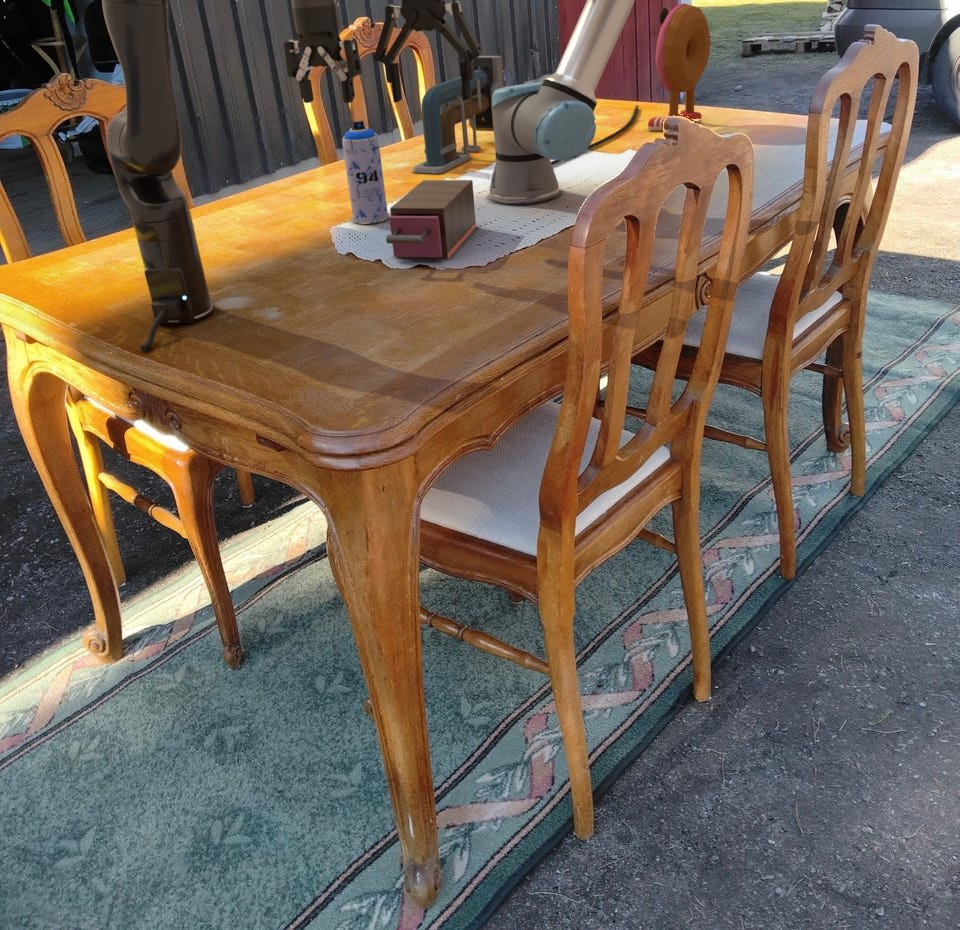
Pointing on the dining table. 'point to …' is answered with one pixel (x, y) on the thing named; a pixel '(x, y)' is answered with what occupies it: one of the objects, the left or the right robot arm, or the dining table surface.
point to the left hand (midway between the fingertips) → (328, 102)
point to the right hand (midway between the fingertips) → (432, 100)
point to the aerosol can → (364, 175)
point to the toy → (681, 57)
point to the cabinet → (442, 209)
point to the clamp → (458, 115)
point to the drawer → (415, 235)
